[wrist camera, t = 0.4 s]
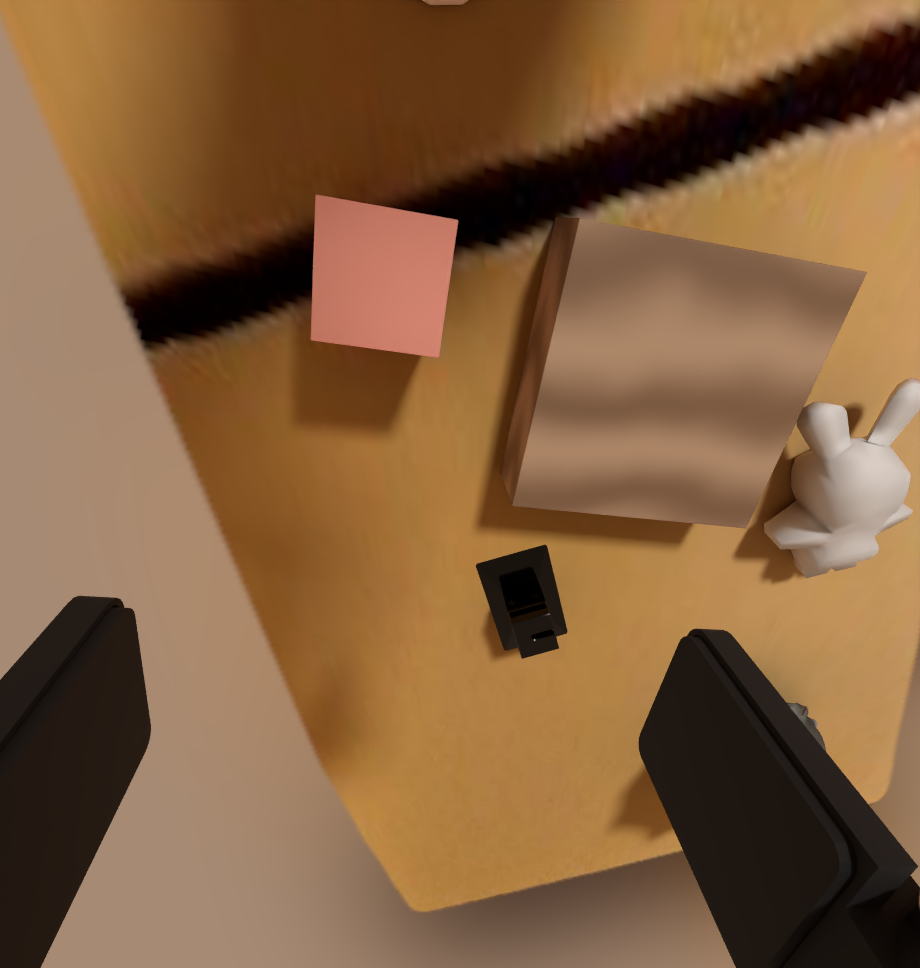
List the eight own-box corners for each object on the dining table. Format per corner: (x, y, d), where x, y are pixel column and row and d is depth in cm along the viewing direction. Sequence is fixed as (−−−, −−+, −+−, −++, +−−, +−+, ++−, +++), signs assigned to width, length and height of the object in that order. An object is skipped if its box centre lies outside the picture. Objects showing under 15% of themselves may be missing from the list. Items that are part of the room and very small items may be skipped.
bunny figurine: (783, 602, 39) (819, 431, 31) (744, 556, 43) (767, 394, 35) (909, 572, 39) (980, 391, 30) (857, 529, 43) (908, 359, 35)
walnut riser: (553, 217, 30) (579, 218, 25) (803, 263, 32) (867, 272, 28) (499, 470, 37) (512, 506, 32) (707, 492, 39) (746, 528, 35)
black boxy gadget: (577, 638, 45) (595, 681, 41) (496, 661, 45) (505, 705, 41) (550, 521, 39) (567, 557, 35) (457, 548, 40) (463, 586, 36)
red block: (335, 197, 28) (315, 194, 22) (446, 218, 29) (458, 220, 23) (329, 313, 31) (310, 340, 24) (431, 328, 32) (438, 357, 25)
